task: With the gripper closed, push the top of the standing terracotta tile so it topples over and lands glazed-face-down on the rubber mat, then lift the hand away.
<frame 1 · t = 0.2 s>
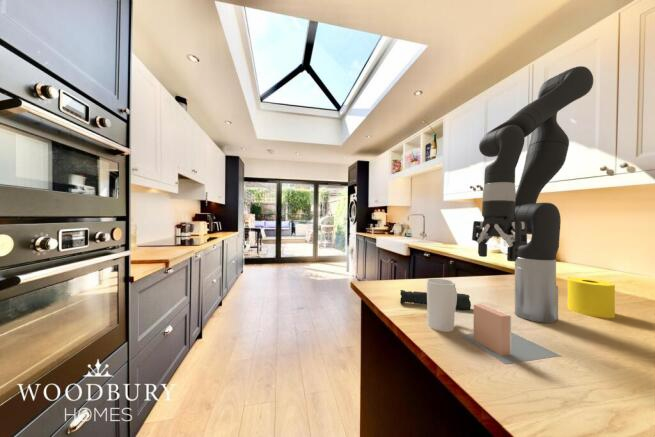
hand: (496, 258, 68), 17 cm above the worktop, tool pointing down, fingers open, 8 cm apart
mug: (444, 327, 64), on the worktop
flashlight: (433, 307, 80), on the worktop
tile: (491, 346, 53), resting on mat
tape roll: (590, 312, 76), on the worktop
mat: (506, 346, 54), on the worktop
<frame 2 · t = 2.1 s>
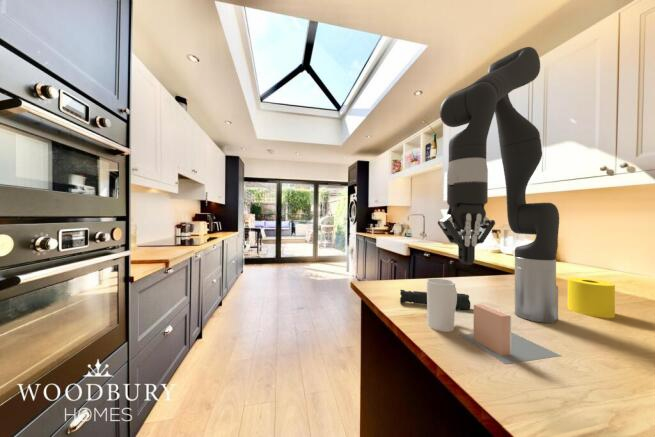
hand: (466, 263, 52), 19 cm above the worktop, tool pointing down, fingers closed
nothing on the worktop moved.
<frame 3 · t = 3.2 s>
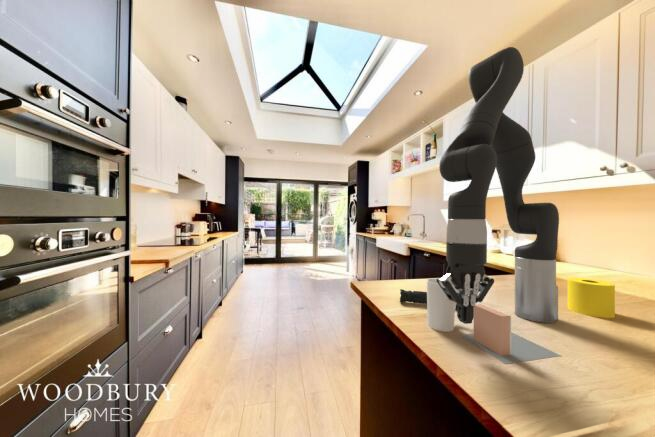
hand: (465, 322, 52), 6 cm above the worktop, tool pointing down, fingers closed
nothing on the worktop moved.
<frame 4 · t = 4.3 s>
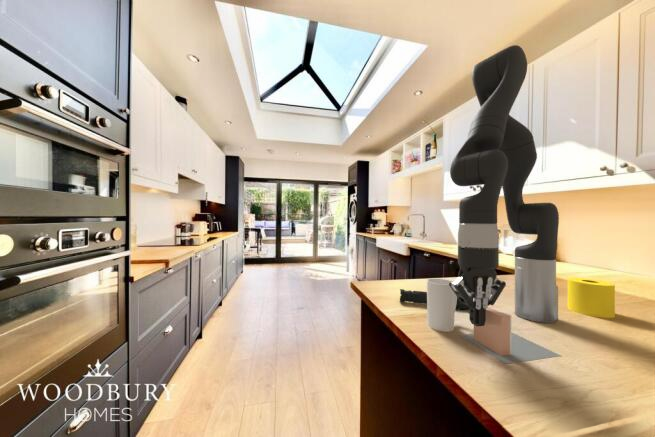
hand: (477, 324, 53), 5 cm above the worktop, tool pointing down, fingers closed
tile: (491, 346, 53), resting on mat, touching gripper
everything else where it was.
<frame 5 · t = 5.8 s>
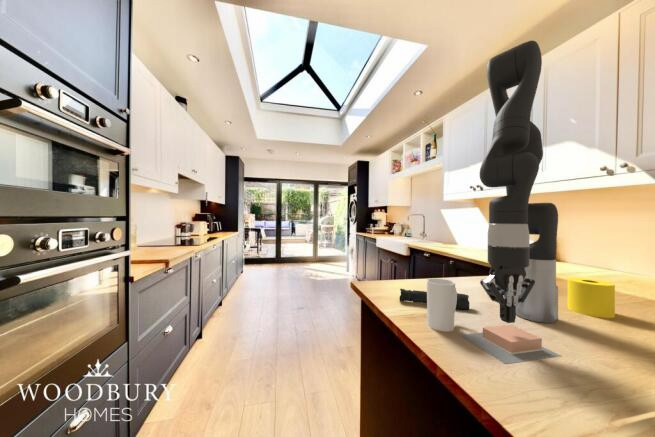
hand: (507, 321, 55), 5 cm above the worktop, tool pointing down, fingers closed
tile: (496, 340, 54), point 2 cm above the worktop, tilted 90°, touching mat
everything else where it was.
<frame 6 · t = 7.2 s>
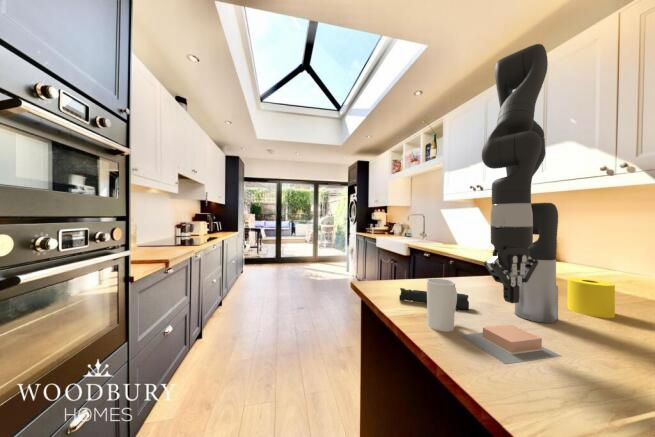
hand: (511, 301, 55), 10 cm above the worktop, tool pointing down, fingers closed
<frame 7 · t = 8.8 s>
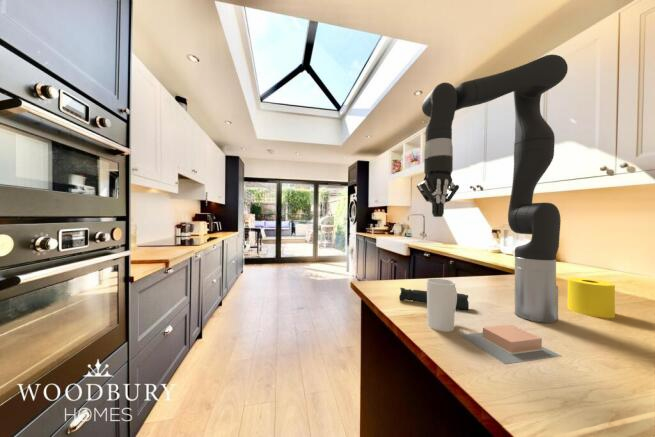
hand: (437, 216, 71), 29 cm above the worktop, tool pointing down, fingers closed
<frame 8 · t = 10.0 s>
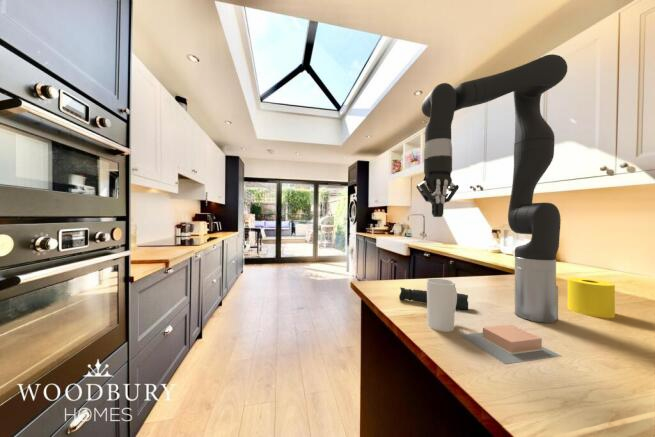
hand: (437, 216, 71), 29 cm above the worktop, tool pointing down, fingers closed
at the end: tile tilted 90°; tile inside the target area (4.2 cm from its centre), point 1.6 cm above the worktop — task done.
